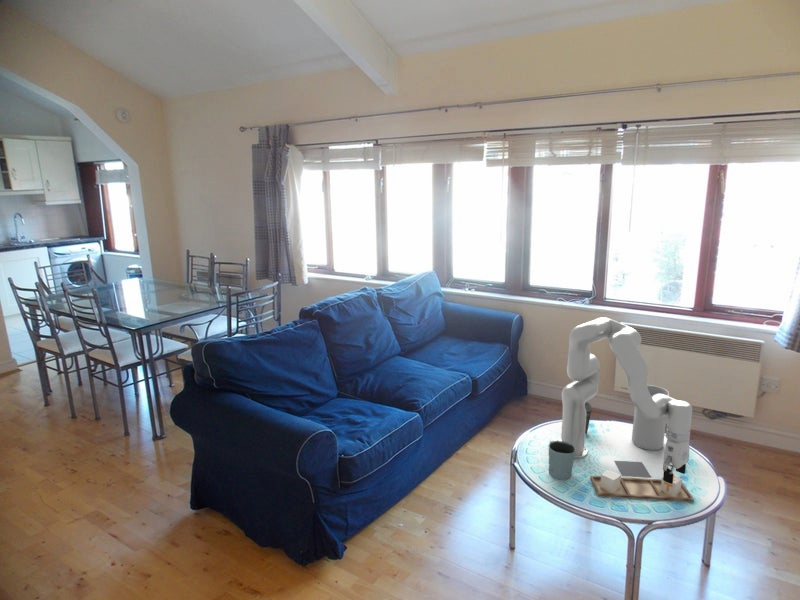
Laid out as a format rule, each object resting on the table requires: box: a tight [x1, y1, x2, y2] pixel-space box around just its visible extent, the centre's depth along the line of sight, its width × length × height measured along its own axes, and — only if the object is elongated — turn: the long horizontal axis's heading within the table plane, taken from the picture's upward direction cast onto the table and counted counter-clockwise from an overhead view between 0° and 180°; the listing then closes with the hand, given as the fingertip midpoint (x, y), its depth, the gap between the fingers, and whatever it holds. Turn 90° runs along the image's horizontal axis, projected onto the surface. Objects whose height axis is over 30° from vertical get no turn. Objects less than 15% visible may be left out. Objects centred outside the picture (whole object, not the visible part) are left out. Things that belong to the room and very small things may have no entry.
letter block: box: [660, 474, 683, 497], centre depth 185 cm, size 5×5×6 cm
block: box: [600, 469, 622, 493], centre depth 188 cm, size 5×5×6 cm
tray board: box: [589, 475, 695, 503], centre depth 187 cm, size 33×12×1 cm, turn 82°
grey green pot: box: [548, 440, 576, 481], centre depth 197 cm, size 10×10×12 cm
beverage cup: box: [585, 400, 593, 435], centre depth 229 cm, size 7×7×20 cm
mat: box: [613, 460, 653, 479], centre depth 201 cm, size 11×11×1 cm
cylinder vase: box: [631, 384, 670, 451], centre depth 217 cm, size 12×12×25 cm
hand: (674, 477), depth 184 cm, fingers open, 9 cm apart
